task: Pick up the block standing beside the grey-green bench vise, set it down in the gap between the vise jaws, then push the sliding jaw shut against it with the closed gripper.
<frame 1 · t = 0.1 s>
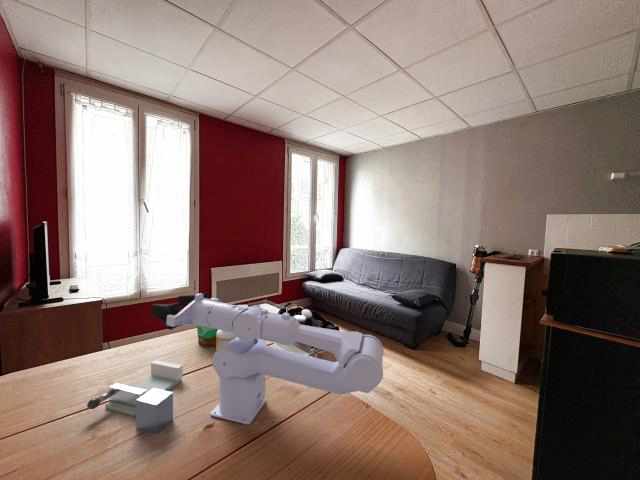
hand: (166, 304, 62), 22 cm above the table, tool horizontal, fingers open, 7 cm apart
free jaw: (116, 401, 55), point 3 cm above the table, slide at 0.0 cm
food container: (206, 344, 88), on the table, touching supplement box
supplement bottle: (228, 363, 77), on the table
supplement box: (237, 344, 88), on the table, touching food container
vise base: (146, 393, 62), on the table
block: (155, 424, 53), on the table
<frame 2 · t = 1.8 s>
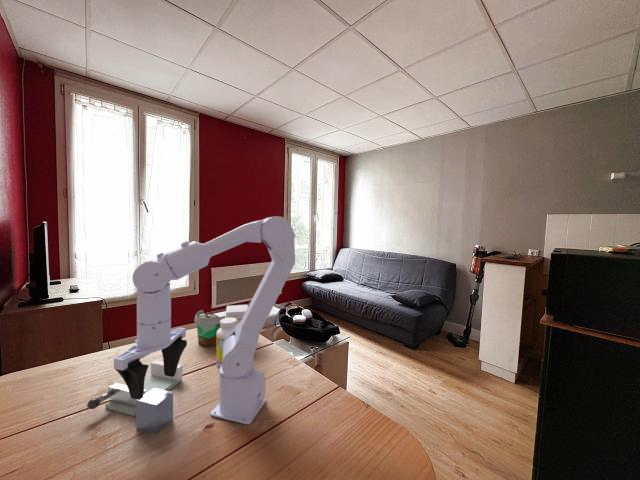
hand: (154, 385, 52), 8 cm above the table, tool pointing down, fingers open, 7 cm apart
nothing on the table moved.
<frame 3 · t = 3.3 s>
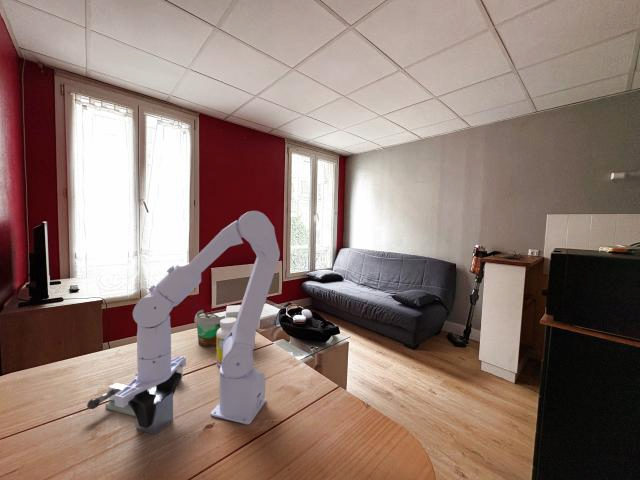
hand: (155, 417, 53), 1 cm above the table, tool pointing down, fingers closed on block, 4 cm apart
block: (155, 424, 53), on the table, touching gripper
everything else where it was.
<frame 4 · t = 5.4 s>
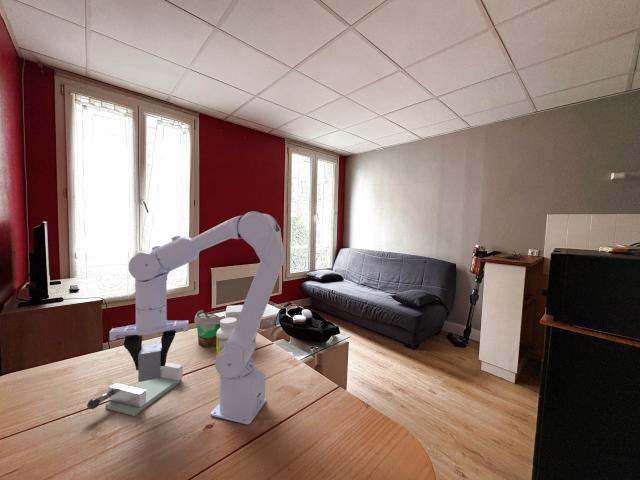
hand: (151, 365, 58), 9 cm above the table, tool pointing down, fingers closed on block, 4 cm apart
block: (151, 373, 58), point 7 cm above the table, touching gripper
everything else where it was.
when the fingers open (3 cm above the table, at t = 7.3 s): block stays where it is, resting on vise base.
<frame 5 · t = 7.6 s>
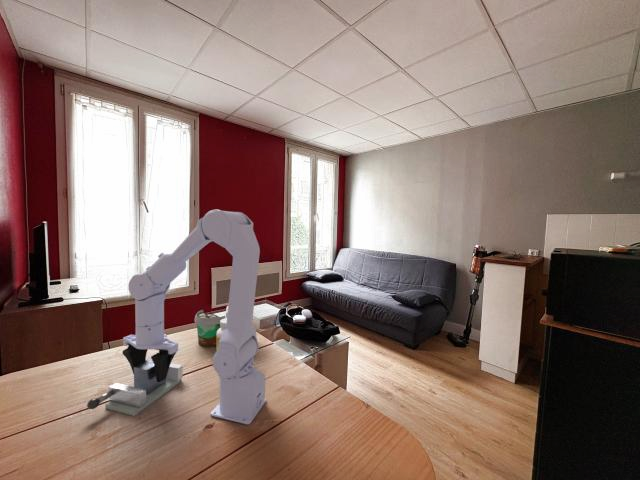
hand: (150, 377, 63), 3 cm above the table, tool pointing down, fingers open, 6 cm apart
block: (150, 387, 63), point 1 cm above the table, touching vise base
everything else where it was.
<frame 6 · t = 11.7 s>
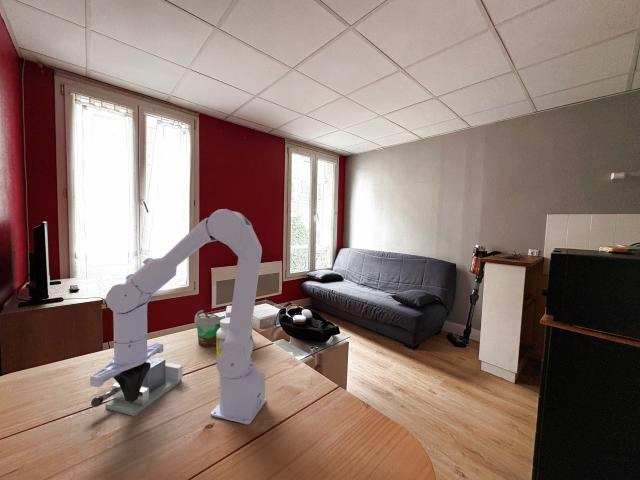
hand: (131, 399, 55), 3 cm above the table, tool pointing down, fingers closed
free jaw: (119, 399, 56), point 3 cm above the table, slide at 0.7 cm, touching gripper
everything else where it was.
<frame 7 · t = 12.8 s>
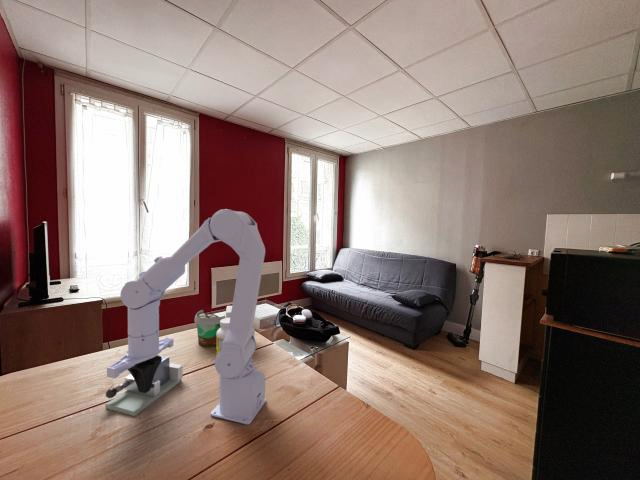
hand: (144, 390, 58), 3 cm above the table, tool pointing down, fingers closed
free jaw: (132, 391, 58), point 3 cm above the table, slide at 3.6 cm, touching block, gripper
block: (154, 384, 64), point 1 cm above the table, touching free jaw, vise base
everything else where it was.
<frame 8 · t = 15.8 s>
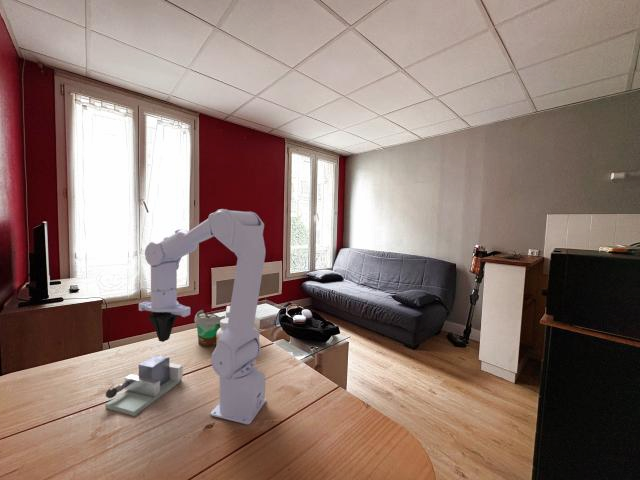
hand: (164, 339, 67), 10 cm above the table, tool pointing down, fingers closed
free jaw: (132, 391, 58), point 3 cm above the table, slide at 3.6 cm, touching block
everything else where it was.
at the end: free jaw slide at 3.6 cm; block inside the target area (0.3 cm from its centre), point 1.0 cm above the table; block tilted 0° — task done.
